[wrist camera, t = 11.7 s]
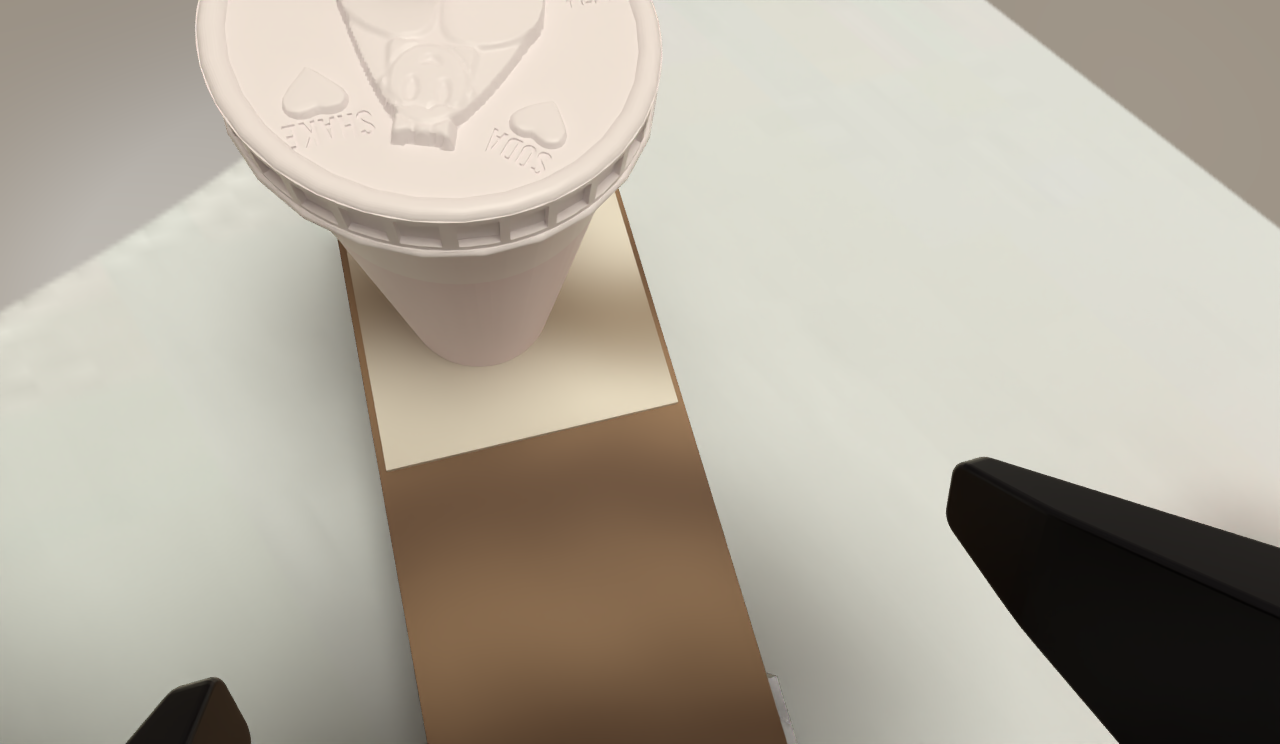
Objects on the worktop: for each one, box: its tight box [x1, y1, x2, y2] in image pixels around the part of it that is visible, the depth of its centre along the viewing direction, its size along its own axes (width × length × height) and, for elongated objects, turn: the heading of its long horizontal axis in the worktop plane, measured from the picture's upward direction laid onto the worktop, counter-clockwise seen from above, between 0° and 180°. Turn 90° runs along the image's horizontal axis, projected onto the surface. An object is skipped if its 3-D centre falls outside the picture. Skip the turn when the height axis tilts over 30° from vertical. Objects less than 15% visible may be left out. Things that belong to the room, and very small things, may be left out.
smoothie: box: [195, 0, 662, 367], centre depth 12 cm, size 6×6×14 cm
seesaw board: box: [338, 189, 787, 744], centre depth 15 cm, size 28×12×6 cm, turn 16°
